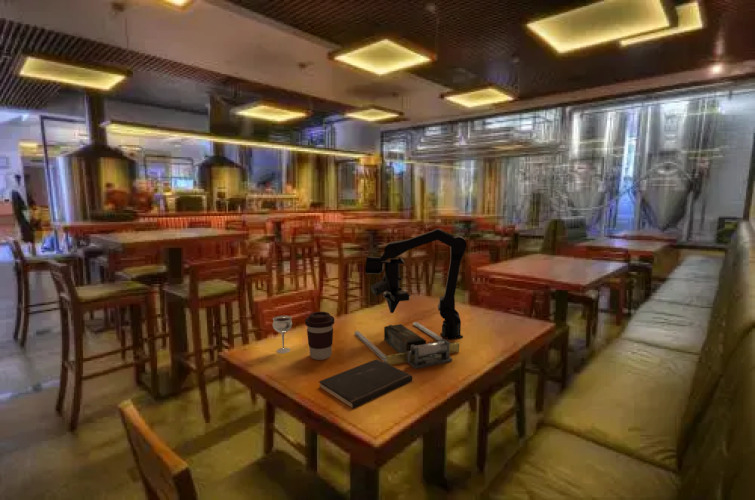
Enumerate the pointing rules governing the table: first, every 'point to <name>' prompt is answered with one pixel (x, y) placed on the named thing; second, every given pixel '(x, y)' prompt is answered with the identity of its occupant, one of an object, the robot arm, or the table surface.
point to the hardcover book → (365, 382)
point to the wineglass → (282, 329)
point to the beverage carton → (401, 338)
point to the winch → (428, 354)
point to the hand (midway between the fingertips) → (391, 312)
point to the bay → (402, 356)
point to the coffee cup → (320, 334)
